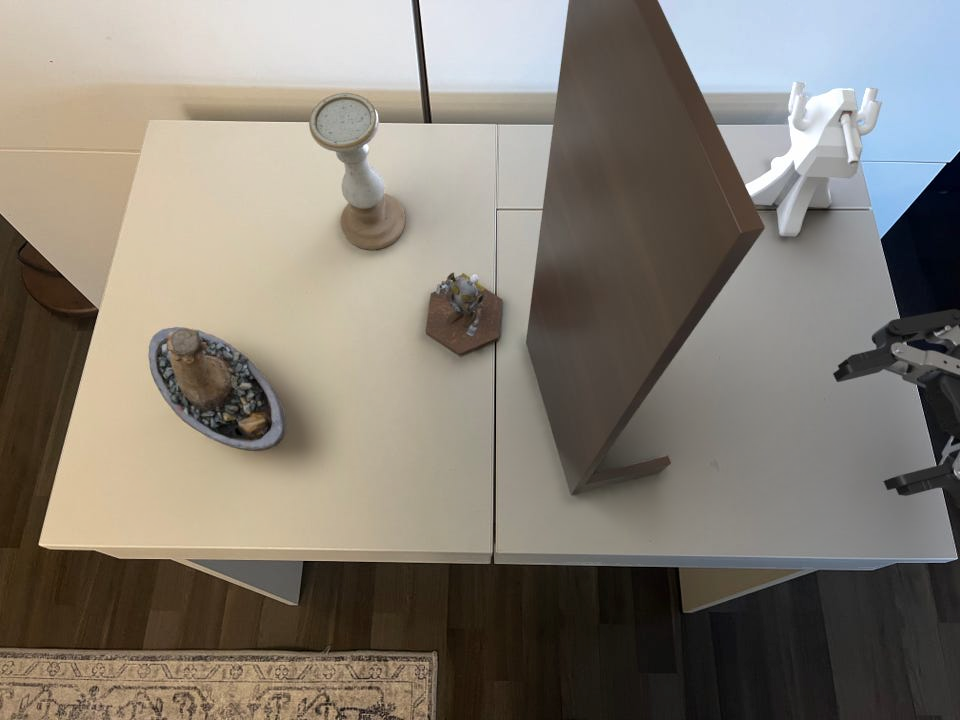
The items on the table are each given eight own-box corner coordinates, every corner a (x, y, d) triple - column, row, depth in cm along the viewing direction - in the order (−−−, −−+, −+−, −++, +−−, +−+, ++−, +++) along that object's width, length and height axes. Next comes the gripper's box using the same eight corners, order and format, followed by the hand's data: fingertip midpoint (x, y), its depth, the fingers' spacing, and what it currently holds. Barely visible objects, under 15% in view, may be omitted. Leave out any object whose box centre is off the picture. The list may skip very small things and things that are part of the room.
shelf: (608, 322, 84) (797, -154, 32) (660, 472, 77) (1012, 172, 25) (525, 341, 84) (582, -115, 31) (570, 495, 76) (740, 233, 24)
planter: (302, 465, 78) (243, 418, 60) (162, 468, 78) (60, 422, 60) (312, 350, 84) (260, 274, 65) (181, 353, 84) (92, 278, 65)
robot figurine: (407, 321, 85) (394, 276, 74) (450, 269, 88) (444, 219, 76) (476, 368, 82) (474, 329, 71) (519, 313, 85) (523, 267, 74)
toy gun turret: (744, 241, 88) (803, 153, 72) (736, 160, 93) (790, 60, 76) (834, 245, 88) (915, 158, 71) (822, 164, 93) (895, 64, 76)
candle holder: (329, 220, 91) (286, 116, 72) (379, 185, 93) (350, 74, 74) (367, 262, 88) (334, 165, 69) (418, 225, 90) (399, 121, 71)
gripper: (1052, 271, 48) (847, 320, 47) (1171, 456, 43) (944, 516, 42) (981, 315, 55) (801, 358, 54) (1076, 478, 50) (880, 530, 49)
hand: (864, 427), depth 48 cm, fingers open, 8 cm apart
